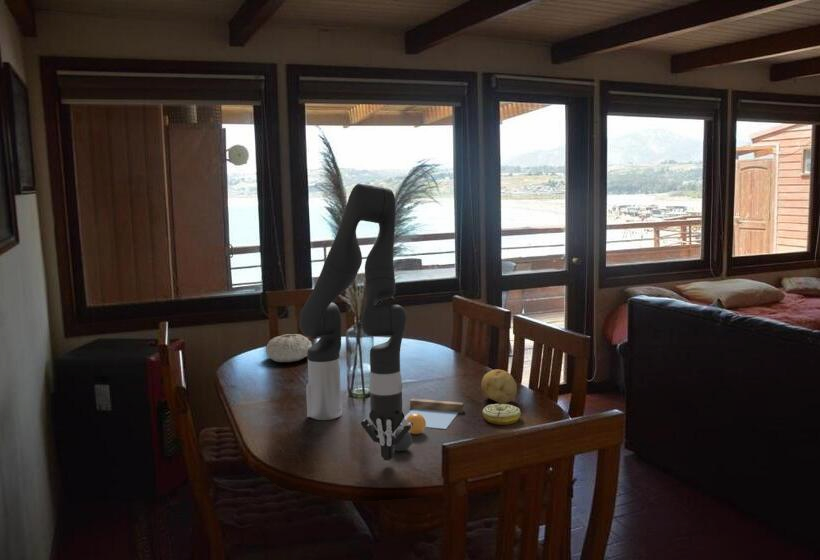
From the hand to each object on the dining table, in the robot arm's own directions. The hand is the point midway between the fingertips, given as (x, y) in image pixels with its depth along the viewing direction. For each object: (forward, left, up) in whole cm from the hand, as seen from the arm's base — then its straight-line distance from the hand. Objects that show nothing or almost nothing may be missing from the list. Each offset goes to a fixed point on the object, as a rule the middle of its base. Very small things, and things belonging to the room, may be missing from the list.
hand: (387, 459), depth 159 cm
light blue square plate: (0, +34, -2) cm, 34 cm away
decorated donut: (+20, +39, -2) cm, 43 cm away
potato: (+16, +54, -2) cm, 56 cm away
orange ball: (0, +22, +1) cm, 22 cm away
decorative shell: (-72, +84, -2) cm, 110 cm away
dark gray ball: (0, +10, +1) cm, 10 cm away
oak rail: (0, +42, -2) cm, 42 cm away
